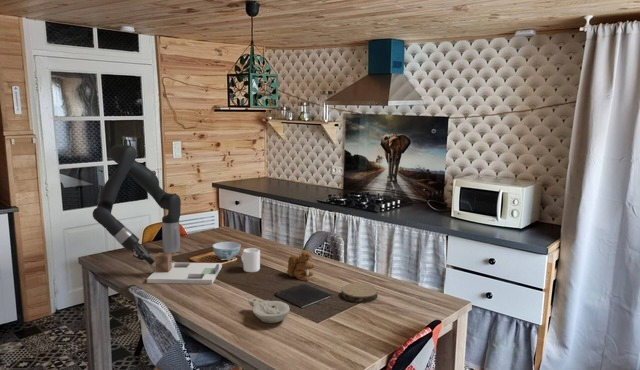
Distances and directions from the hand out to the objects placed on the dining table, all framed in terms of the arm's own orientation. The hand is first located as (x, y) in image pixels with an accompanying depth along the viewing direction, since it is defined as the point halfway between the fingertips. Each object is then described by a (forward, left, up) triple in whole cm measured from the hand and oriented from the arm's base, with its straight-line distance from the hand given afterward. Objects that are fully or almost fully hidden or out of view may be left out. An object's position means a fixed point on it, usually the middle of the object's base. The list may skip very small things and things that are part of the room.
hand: (152, 263), depth 233 cm
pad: (-7, +27, -5) cm, 28 cm away
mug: (-21, +42, -6) cm, 47 cm away
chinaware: (-33, +24, -6) cm, 41 cm away
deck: (-4, +16, -5) cm, 17 cm away
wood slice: (-2, +102, -6) cm, 102 cm away
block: (-1, +5, -3) cm, 6 cm away
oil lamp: (+31, +70, -6) cm, 76 cm away
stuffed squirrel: (-18, +69, -6) cm, 72 cm away
